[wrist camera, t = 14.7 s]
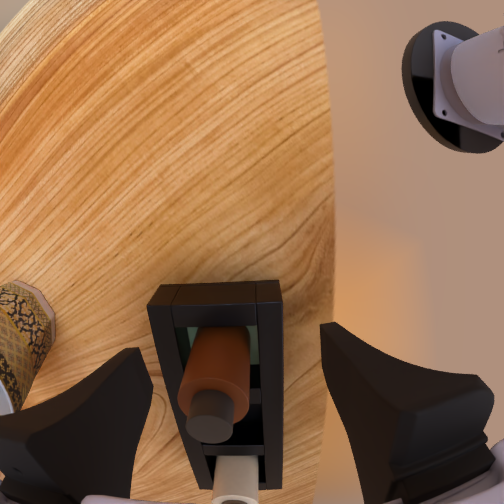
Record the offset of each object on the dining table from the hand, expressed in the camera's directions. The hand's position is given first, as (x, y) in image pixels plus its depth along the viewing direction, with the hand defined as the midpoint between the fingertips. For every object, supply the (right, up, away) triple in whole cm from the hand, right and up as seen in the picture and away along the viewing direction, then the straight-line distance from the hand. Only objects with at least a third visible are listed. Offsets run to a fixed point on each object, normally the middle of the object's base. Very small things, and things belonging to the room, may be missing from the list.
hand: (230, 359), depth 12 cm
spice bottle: (-1, -2, +11) cm, 11 cm away
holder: (-1, -8, +14) cm, 16 cm away
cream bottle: (-1, -15, +15) cm, 21 cm away
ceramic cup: (-21, -2, +12) cm, 24 cm away
